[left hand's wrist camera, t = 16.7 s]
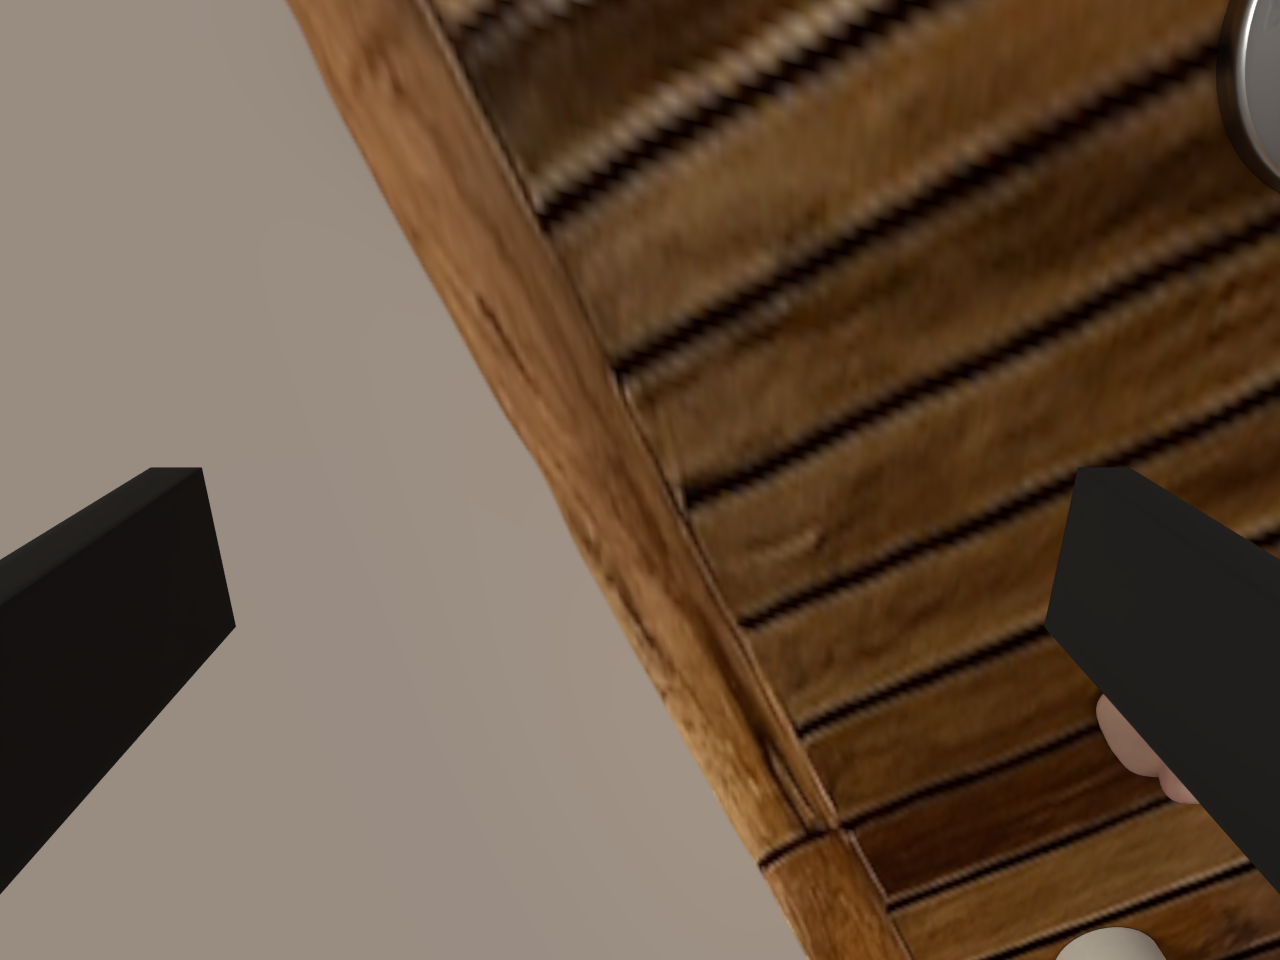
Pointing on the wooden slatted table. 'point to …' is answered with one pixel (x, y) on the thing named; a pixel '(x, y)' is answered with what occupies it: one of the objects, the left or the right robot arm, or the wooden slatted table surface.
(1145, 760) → the anatomical model
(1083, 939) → the can
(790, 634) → the wooden slatted table surface
